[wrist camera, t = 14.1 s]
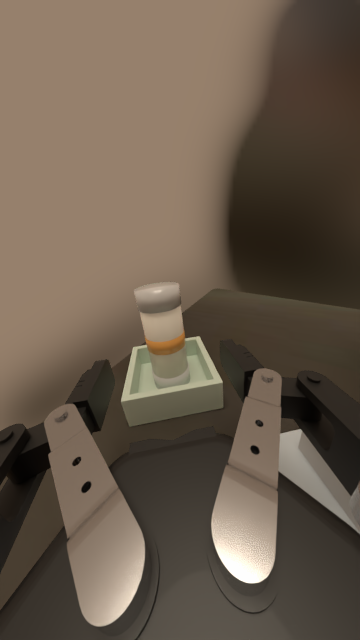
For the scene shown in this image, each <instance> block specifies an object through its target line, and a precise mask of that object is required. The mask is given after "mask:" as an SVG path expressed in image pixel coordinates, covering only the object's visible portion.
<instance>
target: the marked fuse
mask: <svg viewBox="0 0 360 640" xmlns="http://www.w3.org/2000/svg"><path fill="white" fill-rule="evenodd" d="M134 293H135V298H136V302H137V306H138V310H139V311H140V315H141V320H142V324H143V329H144V333H145V339H146V344H147V349H148V351H149V355H150V360H151V364H152V373H153V377H154V381H155V385H156V387H157V388H158V389H163V388H168V387H173V386H179V385H184V384H188V383H189V381H190V371H189V363H188V361H187V353H186V345H185V343H186V342H185V333H184V328H183V321H182V313H181V297H180V289H179V284H178V283H175V282H162V283H155V284H149V285H145V286H141V287H139V288H136V289H135V290H134Z"/></svg>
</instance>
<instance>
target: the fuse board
mask: <svg viewBox="0 0 360 640" xmlns="http://www.w3.org/2000/svg"><path fill="white" fill-rule="evenodd" d="M278 471H279V472H280V473H282V474H283V475H284V476H286V477H287V478H288V479H290V480H291V481H292V482H294V483H295V484H296V485H298V486H299V487H300V488H301V489H303V490H304V491H305V492H307V493H308V494H309V495H311V496H312V497H313V498H315V499H316V500H317V501H319V502H320V503H321V504H323V505H324V506H325V507H326V508H328V509H329V510H330V511H332V512H333V513H334V514H336V515H337V516H338V517H340V518H341V519H342V520H344V521H345V522H346V523H347V524H349V525H350V526H351V527H352V528H354V529H355V530H356V531H357V532H358V533H359V534H360V527H359V525H358V523H357V521H356V520H355V518H354V516H353V514H352V512H351V508H350V498H351V496H350V495H349V493H348V492H347V490H346V489H345V488H344V486H343V485H342V484H341V482H340V481H339V480H338V478H337V477H336V476H335V474H334V473H333V472H332V470H331V469H330V468H329V466H328V465H327V464H326V462H325V461H324V460H323V458H322V457H321V455H320V454H319V453H318V451H317V450H316V449H315V447H314V446H313V445H312V443H311V442H310V441H309V439H308V438H307V437H306V435H305V434H304V433H303V431H302V430H301V429H299V430H295V431H290V432H286V433H281V434H280V446H279V467H278Z"/></svg>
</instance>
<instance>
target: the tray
mask: <svg viewBox="0 0 360 640" xmlns="http://www.w3.org/2000/svg"><path fill="white" fill-rule="evenodd" d="M185 342H186V343H185V345H186V353H187V361H188V363H189V371H190V381H189V383H188V384H184V385H179V386H173V387H168V388H163V389H158V388H157V387H156V385H155V381H154V377H153V373H152V364H151V360H150V355H149V351H148V349H147V345H144V346H138V347H133V351H132V355H131V360H130V364H129V368H128V373H127V377H126V382H125V386H124V390H123V395H122V399H121V404H122V407H123V410H124V413H125V416H126V419H127V422H128V425H129V427H131V426H136V425H141V424H146V423H151V422H156V421H161V420H166V419H171V418H176V417H181V416H186V415H190V414H195V413H200V412H205V411H210V410H215V409H220V408H223V382H222V380H221V378H220V376H219V374H218V372H217V370H216V368H215V366H214V364H213V362H212V360H211V358H210V356H209V355H208V353H207V351H206V349H205V347H204V345H203V343H202V341H201V339H200V337H193V338H187V339H185Z"/></svg>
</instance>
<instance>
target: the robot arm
mask: <svg viewBox="0 0 360 640" xmlns="http://www.w3.org/2000/svg"><path fill="white" fill-rule="evenodd" d="M220 359H221V364H222V367H223V369H224V370H225V372H226V374H227V376H228V377H229V379H230V381H231V383H232V384H233V386H234V388H235V390H236V391H237V393H238V395H239V397H240V398H241V400H242V402H243V403H244V405H243V408H242V412H241V416H240V420H239V423H238V427H237V431H236V434H235V438H232V437H230V436H227V435H224V434H219V433H215V430H214V427H213V426H212V427H207V428H202V429H197V430H193V431H191V432H189V433H187V434H185V435H183V436H181V437H179V438H177V439H175V440H160V439H148V440H143V441H139V442H134V443H130V449H129V452H127V453H125V454H124V455H122V456H121V457H119V458H118V459H117V460H116V461H115V462H113V463H112V464H111V465H110V466H109V468H108V466H107V464H106V463H105V461H104V459H103V457H102V455H101V453H100V451H99V449H98V447H97V445H96V443H95V442H94V440H93V438H92V433H93V432H97V431H101V428H102V424H103V421H104V418H105V415H106V411H107V408H108V405H109V402H110V398H111V395H112V392H113V389H114V385H115V379H114V375H113V372H112V369H111V366H110V363H109V361H108V360H107V359H106V360H100V361H96V362H95V363H94V365H93V366H92V368H91V369H90V370H87V371H86V372H85V373H84V374H83V375H82V376H81V378H80V380H79V382H78V383H77V385H76V387H75V388H74V390H73V391H72V393H71V395H70V396H69V398H68V400H67V401H66V403H65V405H62V406H60V407H58V408H57V409H55V410H54V411H53V412H51V413H50V414H49V415H48V417H47V418H46V419H45V422H43V423H41V424H39V425H36V426H34V427H32V428H29V429H26V427H25V426H24V425H23V424H15V425H12V426H9V427H7V428H5V429H4V430H2V431H0V485H1V483H2V482H3V480H4V478H5V477H6V476H7V477H8V480H7V482H6V483H5V485H4V487H3V488H2V490H1V492H0V573H1V570H2V568H3V566H4V564H5V561H6V559H7V557H8V555H9V553H10V550H11V548H12V546H13V544H14V541H15V539H16V537H17V535H18V533H19V530H20V528H21V526H22V524H23V521H24V519H25V517H26V515H27V512H28V510H29V508H30V506H31V504H32V501H33V499H34V497H35V495H36V492H37V490H38V488H39V486H40V484H41V481H42V479H43V477H44V475H45V472H46V470H47V469H49V468H51V469H52V474H53V478H54V482H55V486H56V491H57V495H58V499H59V503H60V508H61V512H62V516H63V520H64V527H63V528H62V529H61V531H60V532H59V533H58V535H57V536H56V537H55V539H54V540H53V541H52V543H51V544H50V545H49V546H48V548H47V549H46V550H45V552H44V553H43V554H42V556H41V557H40V558H39V560H38V561H37V562H36V564H35V565H34V566H33V568H32V569H31V570H30V572H29V573H28V574H27V576H26V577H25V578H24V580H23V581H22V582H21V584H20V585H19V586H18V588H17V589H16V590H15V592H14V593H13V594H12V596H11V597H10V598H9V600H8V601H7V602H6V604H5V605H4V606H3V607H2V609H1V610H0V640H360V534H359V533H358V532H357V531H356V530H355V529H354V528H352V527H351V526H350V525H349V524H347V523H346V522H345V521H344V520H342V519H341V518H340V517H338V516H337V515H336V514H334V513H333V512H332V511H330V510H329V509H328V508H326V507H325V506H324V505H323V504H321V503H320V502H319V501H317V500H316V499H315V498H313V497H312V496H311V495H309V494H308V493H307V492H305V491H304V490H303V489H301V488H300V487H299V486H298V485H296V484H295V483H294V482H292V481H291V480H290V479H288V478H287V477H286V476H284V475H283V474H282V473H280V472H279V471H278V467H279V446H280V425H281V418H290V419H294V420H295V422H296V423H297V425H298V426H299V427H300V429H301V430H302V431H303V433H304V434H305V435H306V437H307V438H308V439H309V441H310V442H311V443H312V445H313V446H314V447H315V449H316V450H317V451H318V453H319V454H320V455H321V457H322V458H323V460H324V461H325V462H326V464H327V465H328V466H329V468H330V469H331V470H332V472H333V473H334V474H335V476H336V477H337V478H338V480H339V481H340V482H341V484H342V485H343V486H344V488H345V489H346V490H347V492H348V493H349V495H350V496H351V498H350V508H351V512H352V514H353V516H354V518H355V520H356V521H357V523H358V525H359V527H360V404H359V403H358V402H356V401H355V400H354V399H353V398H351V397H350V396H349V395H348V394H346V393H345V392H344V391H343V390H342V389H340V388H339V387H338V386H337V385H335V384H334V383H333V382H332V381H330V380H329V379H328V378H327V377H325V376H324V375H322V374H320V373H317V372H314V371H301V372H299V373H298V376H297V378H285V377H281V376H280V375H279V374H278V373H277V372H275V371H273V370H270V369H265V368H264V367H263V366H262V365H261V364H260V363H259V361H258V360H257V359H256V358H255V357H253V355H252V354H251V353H250V352H249V351H248V350H247V348H245V347H244V346H242V345H240V344H239V345H236V344H235V343H234V342H233V340H232V339H227V340H221V341H220Z"/></svg>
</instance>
